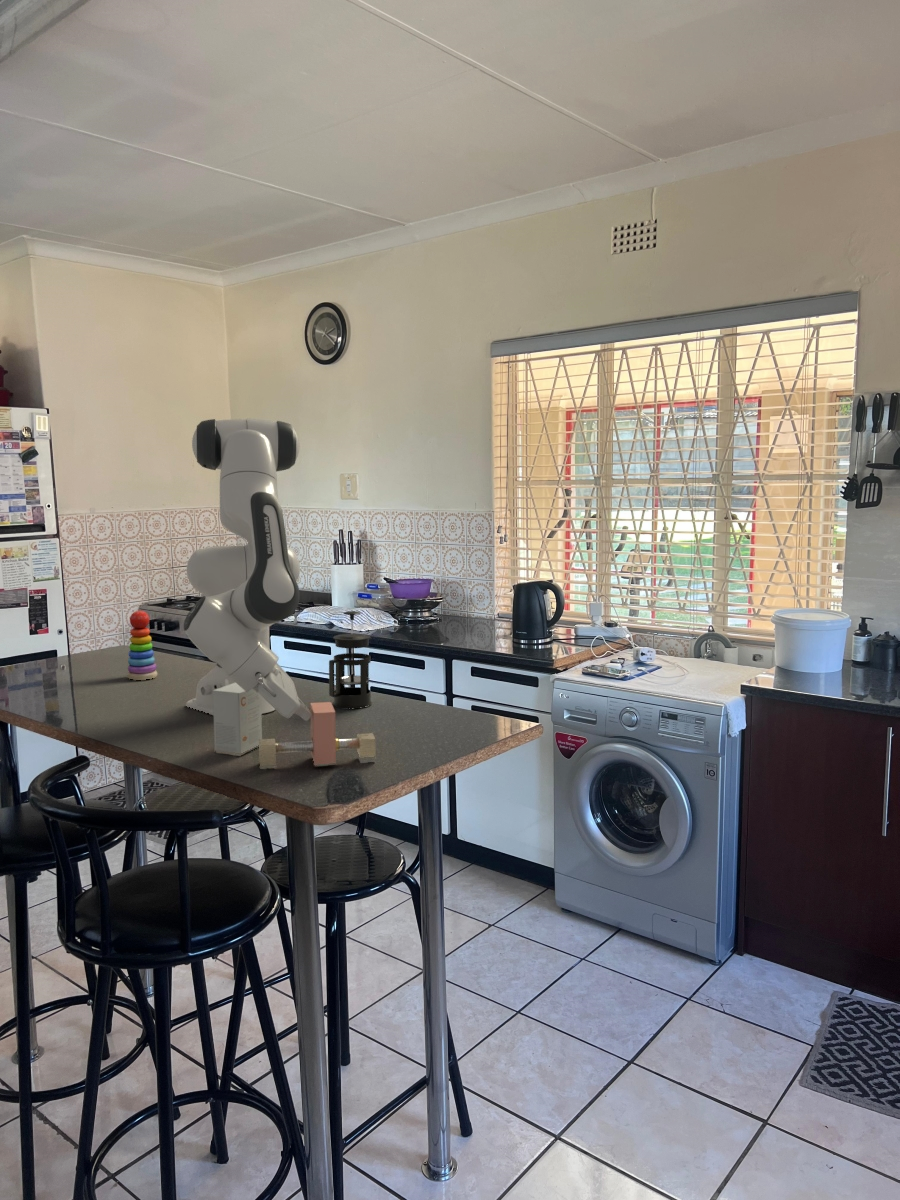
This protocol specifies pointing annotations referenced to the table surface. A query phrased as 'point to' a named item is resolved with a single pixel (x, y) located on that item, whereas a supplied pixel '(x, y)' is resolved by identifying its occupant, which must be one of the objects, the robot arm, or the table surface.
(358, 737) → the pipe rig
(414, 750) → the table surface
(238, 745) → the small box
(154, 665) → the stacking toy
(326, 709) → the collar
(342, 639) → the french press
